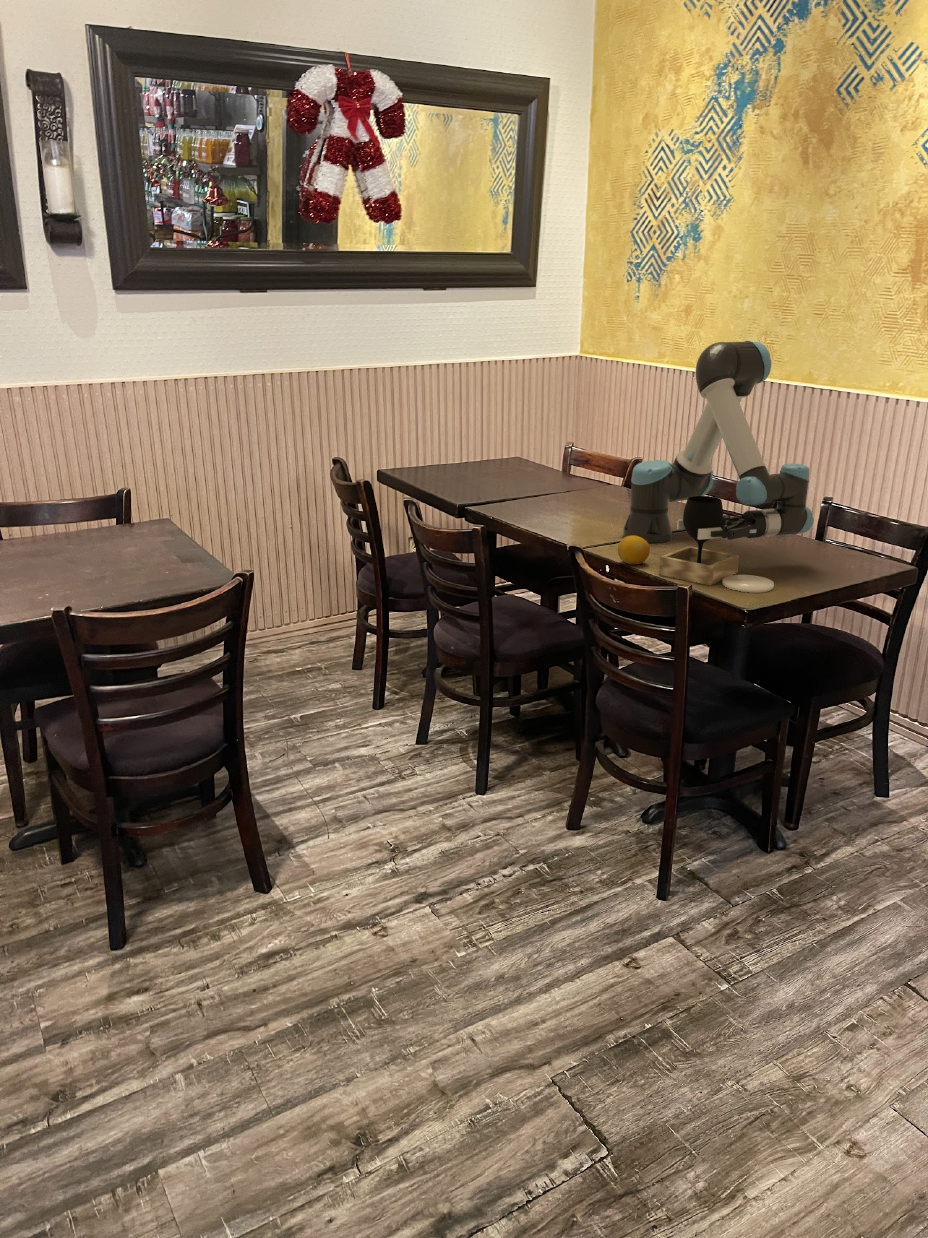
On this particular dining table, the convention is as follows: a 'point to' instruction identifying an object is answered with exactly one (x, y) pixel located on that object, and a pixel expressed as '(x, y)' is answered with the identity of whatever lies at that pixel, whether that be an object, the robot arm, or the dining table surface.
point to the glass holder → (698, 565)
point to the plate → (748, 583)
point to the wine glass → (702, 517)
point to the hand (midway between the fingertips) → (688, 529)
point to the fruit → (633, 550)
